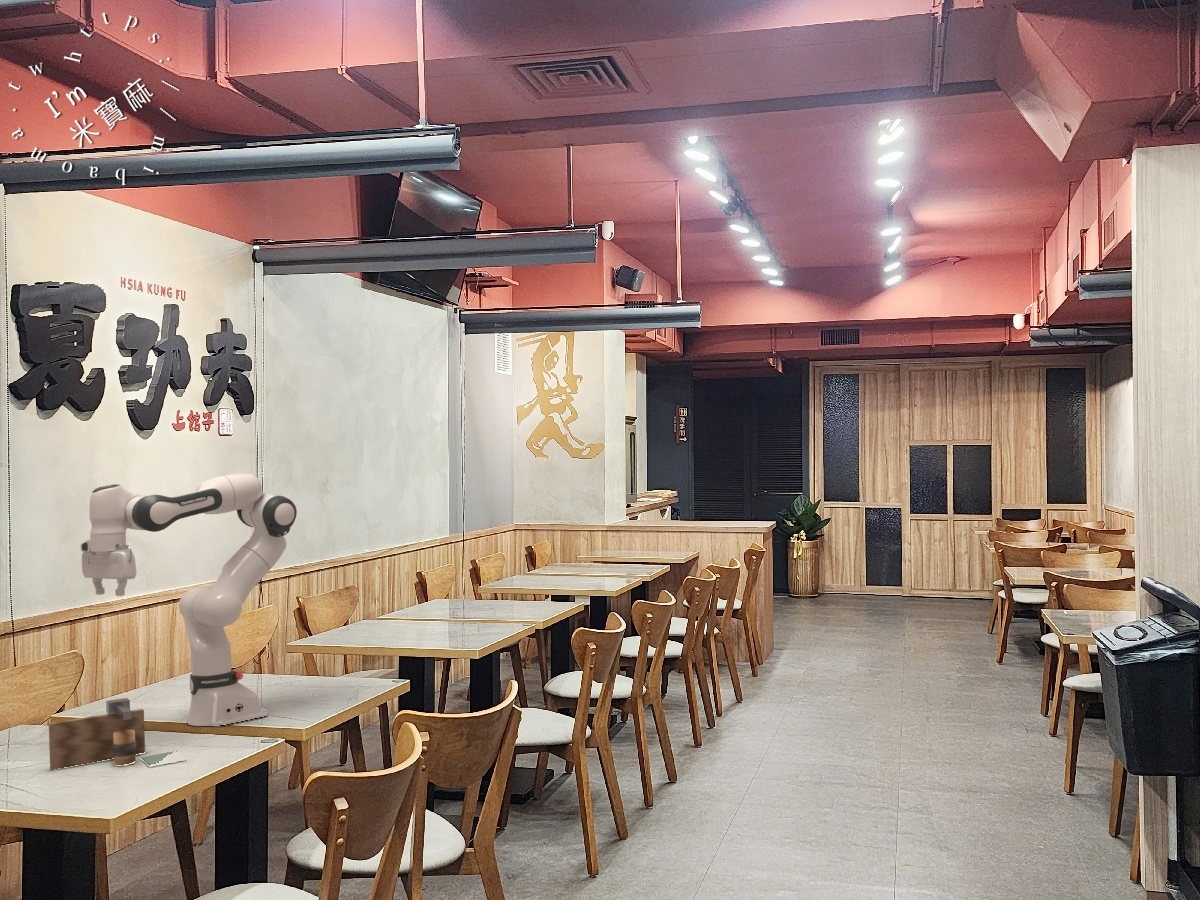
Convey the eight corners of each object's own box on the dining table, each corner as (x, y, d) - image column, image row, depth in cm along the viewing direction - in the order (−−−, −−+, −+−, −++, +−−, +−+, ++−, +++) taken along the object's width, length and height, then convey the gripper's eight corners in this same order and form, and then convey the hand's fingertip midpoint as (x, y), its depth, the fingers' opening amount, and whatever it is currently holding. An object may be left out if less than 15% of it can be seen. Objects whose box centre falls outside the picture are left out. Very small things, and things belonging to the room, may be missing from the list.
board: (143, 752, 279) (142, 708, 279) (145, 754, 277) (143, 710, 277) (50, 768, 266) (48, 722, 266) (51, 770, 264) (49, 724, 264)
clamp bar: (127, 709, 277) (126, 697, 277) (138, 718, 266) (137, 706, 266) (106, 712, 274) (106, 700, 274) (116, 722, 263) (116, 710, 263)
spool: (134, 759, 272) (133, 728, 272) (138, 763, 268) (137, 732, 268) (111, 763, 269) (110, 731, 269) (115, 768, 265) (114, 735, 265)
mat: (178, 753, 276) (178, 750, 276) (186, 760, 269) (186, 757, 269) (141, 760, 271) (141, 757, 271) (149, 767, 264) (149, 764, 264)
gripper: (141, 543, 286) (143, 595, 286) (98, 542, 297) (99, 592, 297) (119, 545, 281) (121, 598, 281) (76, 544, 292) (78, 595, 292)
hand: (110, 595), depth 289 cm, fingers open, 8 cm apart
